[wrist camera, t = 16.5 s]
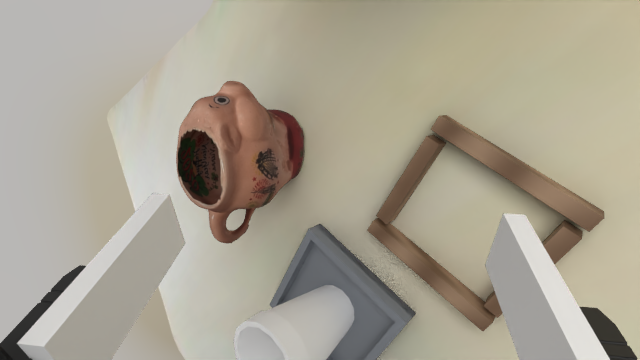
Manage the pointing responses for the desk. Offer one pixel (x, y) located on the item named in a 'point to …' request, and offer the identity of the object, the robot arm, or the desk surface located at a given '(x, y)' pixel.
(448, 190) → the desk surface
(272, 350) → the foam cup
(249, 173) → the sculpted ceramic mug
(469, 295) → the walnut collar
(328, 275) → the charcoal tray
